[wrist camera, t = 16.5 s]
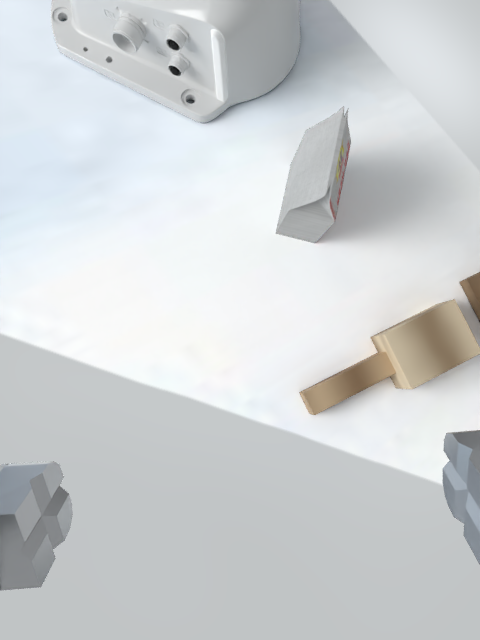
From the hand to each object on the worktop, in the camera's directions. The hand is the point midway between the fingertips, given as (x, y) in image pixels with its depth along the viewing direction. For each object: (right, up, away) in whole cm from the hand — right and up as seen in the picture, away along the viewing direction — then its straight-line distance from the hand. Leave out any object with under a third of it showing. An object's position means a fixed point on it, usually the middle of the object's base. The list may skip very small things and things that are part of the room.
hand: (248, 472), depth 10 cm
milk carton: (+5, +14, +32) cm, 35 cm away
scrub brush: (+13, -1, +31) cm, 33 cm away
